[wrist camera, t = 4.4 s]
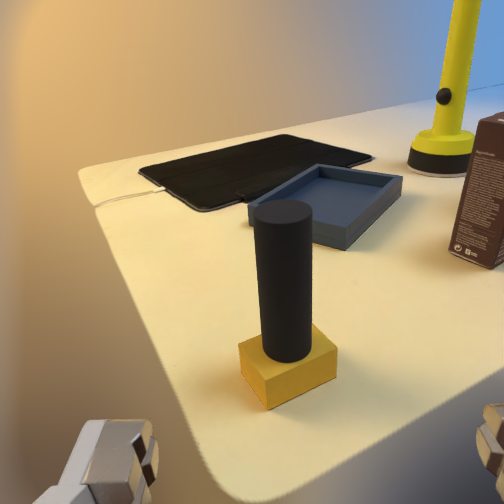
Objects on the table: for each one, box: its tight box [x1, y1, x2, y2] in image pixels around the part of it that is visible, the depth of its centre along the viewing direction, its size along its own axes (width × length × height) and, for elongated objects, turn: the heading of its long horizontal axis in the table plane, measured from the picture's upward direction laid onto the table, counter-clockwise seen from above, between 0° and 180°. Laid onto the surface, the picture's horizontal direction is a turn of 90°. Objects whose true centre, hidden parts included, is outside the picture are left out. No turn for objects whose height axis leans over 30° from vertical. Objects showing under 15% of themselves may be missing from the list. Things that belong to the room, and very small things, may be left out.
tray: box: [247, 164, 403, 251], centre depth 47 cm, size 16×12×2 cm
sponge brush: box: [238, 199, 338, 410], centre depth 23 cm, size 5×4×12 cm
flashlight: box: [407, 0, 481, 177], centre depth 51 cm, size 25×9×9 cm
